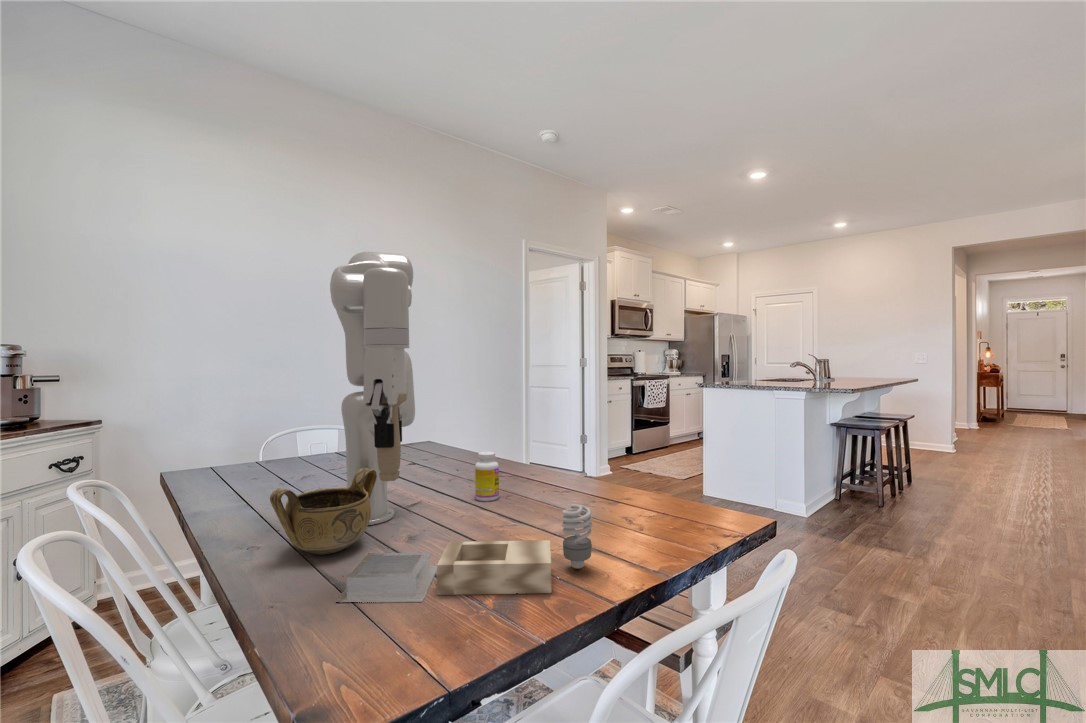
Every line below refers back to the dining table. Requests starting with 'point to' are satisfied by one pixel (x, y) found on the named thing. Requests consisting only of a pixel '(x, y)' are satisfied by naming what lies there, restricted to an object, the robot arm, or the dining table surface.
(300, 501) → the ceramic bowl
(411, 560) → the tray
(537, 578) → the block
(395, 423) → the handle
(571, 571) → the dining table surface
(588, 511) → the light bulb
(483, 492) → the supplement bottle
